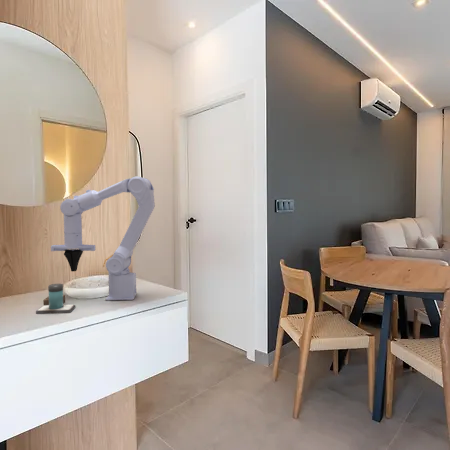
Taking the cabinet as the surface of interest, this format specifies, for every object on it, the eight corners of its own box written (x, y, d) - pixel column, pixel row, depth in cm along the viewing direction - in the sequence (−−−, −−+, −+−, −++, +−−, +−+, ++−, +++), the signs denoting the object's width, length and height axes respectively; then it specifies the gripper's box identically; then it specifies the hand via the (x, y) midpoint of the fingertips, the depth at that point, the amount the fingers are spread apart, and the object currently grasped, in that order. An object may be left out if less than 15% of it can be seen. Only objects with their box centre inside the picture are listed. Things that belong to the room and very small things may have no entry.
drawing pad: (75, 307, 106) (75, 304, 106) (70, 312, 101) (70, 309, 101) (42, 308, 105) (42, 304, 105) (35, 313, 100) (35, 310, 100)
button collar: (65, 302, 111) (65, 295, 111) (59, 307, 106) (59, 299, 106) (49, 302, 110) (49, 295, 110) (43, 307, 105) (43, 300, 105)
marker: (65, 304, 105) (64, 283, 105) (60, 309, 101) (60, 286, 100) (51, 305, 105) (51, 283, 104) (46, 309, 101) (46, 287, 100)
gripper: (97, 231, 120) (98, 268, 121) (55, 231, 118) (56, 268, 120) (92, 234, 113) (92, 272, 114) (47, 234, 111) (49, 273, 113)
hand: (74, 270), depth 117 cm, fingers closed
